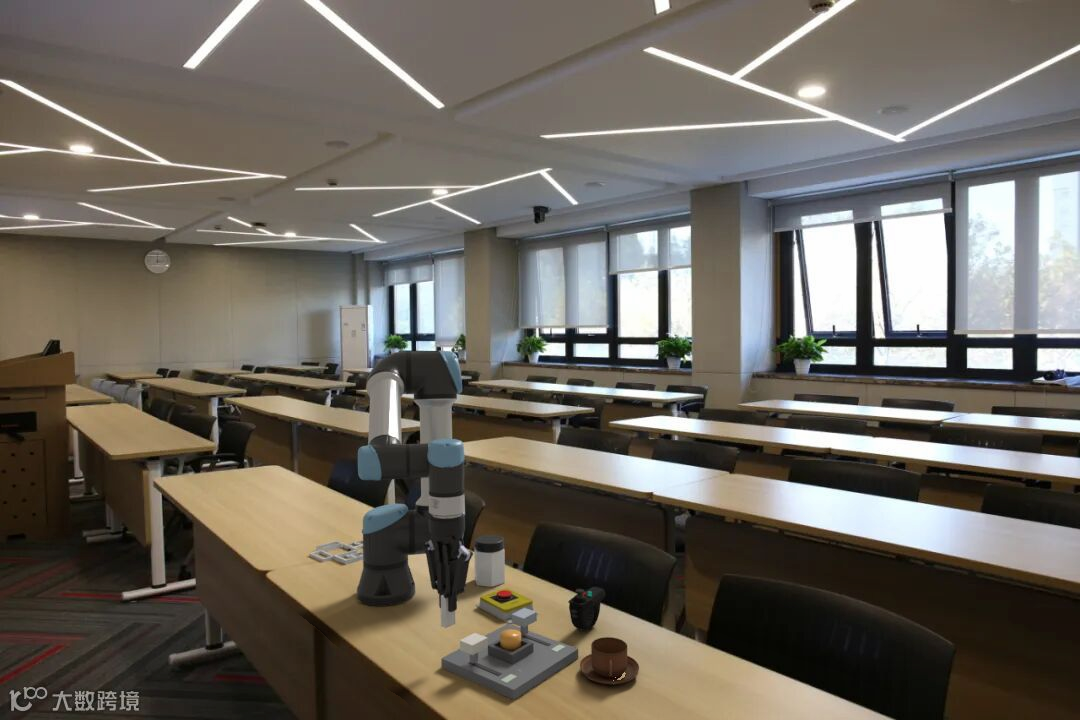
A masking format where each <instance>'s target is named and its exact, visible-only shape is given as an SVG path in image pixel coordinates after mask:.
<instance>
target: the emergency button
mask: <svg viewBox="0 0 1080 720" xmlns="http://www.w3.org/2000/svg"><path fill="white" fill-rule="evenodd" d="M533 603H534V601H533V599H531V598H529V597H527V596H526V595H523V594H521V593H519V592H516V591H514V590H512V589H510V588H509V587H508V588H507V587H506V588H500V589H499V590H494V591H491V592H488V593H486V594H482V595H480V596H479V602H478V603H476V607H478V608H479V609H482V610H483V611H485V612H486V613H489V614H491V615H492V616H494V617H496V618H498V619H499V620H501V621H504V622H505V623H507V624H511V625H514V624H513V623H512V614H513V613H515V612H517V611H519V610H521V609H523V608H526V609H529V610H532V611H535V612H537V616H538V615H539V611H537V610H535V609H534V604H533Z"/></svg>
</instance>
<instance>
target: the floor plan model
mask: <svg viewBox="0 0 1080 720" xmlns="http://www.w3.org/2000/svg"><path fill="white" fill-rule="evenodd" d="M315 547H316V548H315V549H316V550H315V551H313V552H310V553H309V557H310V558H313V559H316V560H318V561H319V562H322V563H325V562H328V561H331V560H332V561H333V560H334V561H337V562H339V563H342V564H344V565H345V564H347V565H349V564H353V562H354V563H358V562H360V561H363V551H358V549H363V539H361V540H357V541H353V542H349V543H344V542H341V541H338V540H335V541H332V542H328V543H324V544H319V545H316V546H315ZM342 548H344V549H345V550H347V551H346V552H343V553H338V554H331V553H329V552H330V551H333V550H339V551H343V549H342ZM319 555H323V556H325V557H321V556H319ZM346 558H347V559H346Z"/></svg>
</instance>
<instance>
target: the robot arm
mask: <svg viewBox="0 0 1080 720" xmlns="http://www.w3.org/2000/svg"><path fill="white" fill-rule="evenodd" d="M462 383H463V381H462V373H461V366H460V362H459V358H458V356H457V354H456V353H455V352H454V351H450V350H449V351H448V350H419V351H418V350H416V351H409V350H407V351H406V350H405V351H396V352H393V353H390V354H387V356H385V357H383V358H382V359H380V360H379V361H378V362H377V363H376V364H375V365H374V366H373V367H372V369H371V370H370V372H369V374H368V376H367V379H366V386H365V387H366V393H367V396H368V397H369V415H368V436H367V437H368V440H367V441H368V442H367V445H363V446H360V447H359V448H358V450H357V473H358V477H359V479H361V481H362V480H363V481H386V480H403V479H405V480H406V479H420V491H421V493H420V494H421V495H420V497H419V498H418V499H417V501H416V502H415V509H409V507H408V506H407V505H406V504H404V503H390V504H389V503H388V504H385V505H380V506H377V507H375V508H372V509H370V510H367V512H366V513H365V514H364V516H363V517H362V518H363V519H362V529H361V533H362V540H363V543H362V545H363V547H362V552H363V560H362V563H363V564H362V571H361V575H360V579H359V582H358V585H357V587H356V599H357V601H358V602H360V603H361V604H364V605H367V606H373V607H374V606H375V607H383V606H384V607H385V606H393V605H398V604H401V603H404V602H407V601H409V600H411V599H412V598H413V597H414V596H415V594H416V584H415V583H416V582H415V580H414V577H413V574H412V571H411V568H410V566H409V556H414V555H415V556H417V555H426V563H427V567H428V568H427V569H428V573H429V578H430V579H429V580H430V584H431V588H432V590H436V592H437V594H438V599H439V602H438V605H439V608H440V627H442V628H445V629H447V628H449V627H452V626H453V625H456V611H457V609H458V608H457V606H458V601H457V600H458V596H459V595H461V594H463V593H465V589H466V584H467V579H468V571H469V566H470V561H471V559H472V557H473V555H474V552H473V550H468V549H467V548H466V547H465V542H464V534H465V531H466V502H465V501H466V500H465V499H466V498H465V459H466V454H465V448H464V447H465V446H464V442H463V441H462V440H459V439H455V438H453V420H452V418H453V417H452V411H453V410H452V406H453V405H454V403H456V401H457V400H458V395H459V394H461V393H462V392H463V384H462ZM403 395H413V402H414V403H415V404H416V405H417V406H418V407H419V435H420V436H419V440H420V441H419V442H420V443H406V444H405V443H403V442H402V408H401V407H402V403H401V402H402V401H401V398H402V396H403Z"/></svg>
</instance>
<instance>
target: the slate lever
mask: <svg viewBox="0 0 1080 720" xmlns="http://www.w3.org/2000/svg"><path fill="white" fill-rule="evenodd" d="M535 611H536V610H535ZM535 611H532V610H529V609H526V608H523V609H521V610H519V611H517V612H515V613H513V614H512V623H513V624H512V625H516V626H517V627H518V626H519V628H520V632H521V634H522V635H526V634H528V631H529V626H530V625H531V624H534V623H535V622H537V620H538V618H537V617H538V615H537V612H538V611H537V612H535Z"/></svg>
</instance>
